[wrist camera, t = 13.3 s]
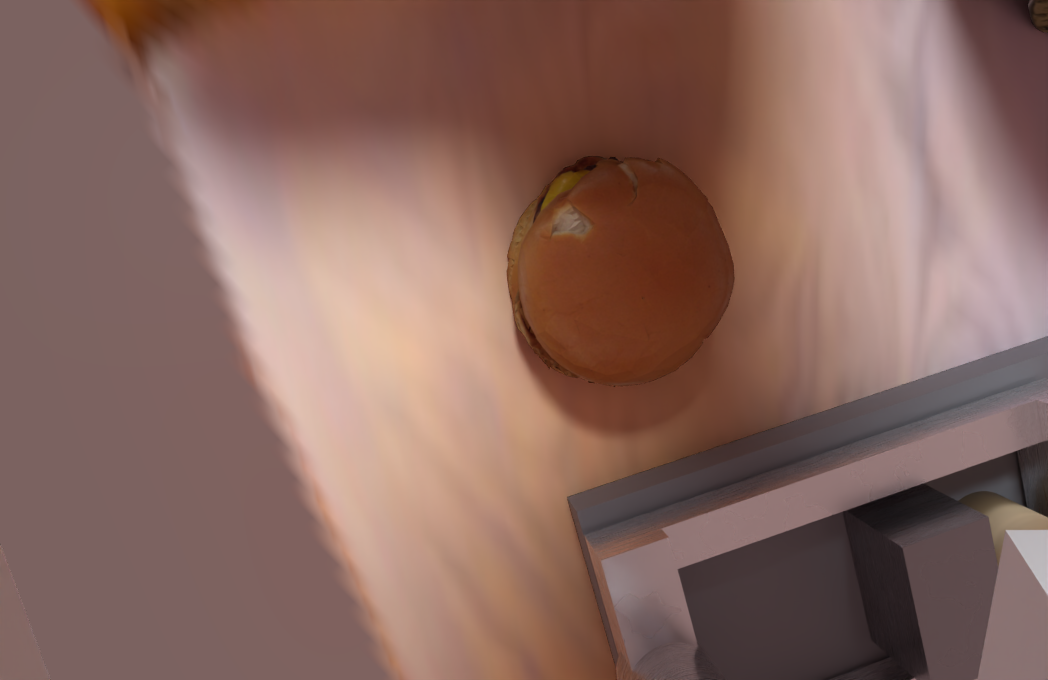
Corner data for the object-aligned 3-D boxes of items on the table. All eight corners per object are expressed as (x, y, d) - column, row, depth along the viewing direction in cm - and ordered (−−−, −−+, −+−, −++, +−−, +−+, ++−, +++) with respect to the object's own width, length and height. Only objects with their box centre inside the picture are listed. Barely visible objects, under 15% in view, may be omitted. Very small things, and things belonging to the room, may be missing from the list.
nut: (933, 506, 44) (989, 536, 40) (1008, 480, 44) (1070, 507, 40) (949, 581, 44) (1005, 618, 41) (1022, 554, 45) (1084, 588, 41)
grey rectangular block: (841, 507, 43) (902, 547, 38) (918, 480, 43) (988, 516, 38) (871, 640, 44) (933, 695, 39) (945, 612, 45) (1016, 663, 40)
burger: (662, 401, 43) (697, 425, 38) (474, 339, 41) (487, 355, 36) (737, 200, 42) (782, 199, 37) (549, 126, 40) (572, 116, 36)
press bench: (567, 497, 43) (576, 511, 41) (1096, 320, 46) (1128, 325, 44) (646, 773, 45) (658, 798, 44) (1138, 588, 49) (1170, 604, 47)
